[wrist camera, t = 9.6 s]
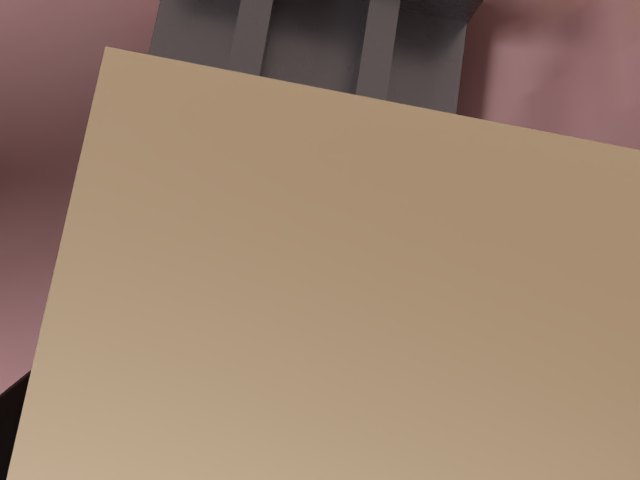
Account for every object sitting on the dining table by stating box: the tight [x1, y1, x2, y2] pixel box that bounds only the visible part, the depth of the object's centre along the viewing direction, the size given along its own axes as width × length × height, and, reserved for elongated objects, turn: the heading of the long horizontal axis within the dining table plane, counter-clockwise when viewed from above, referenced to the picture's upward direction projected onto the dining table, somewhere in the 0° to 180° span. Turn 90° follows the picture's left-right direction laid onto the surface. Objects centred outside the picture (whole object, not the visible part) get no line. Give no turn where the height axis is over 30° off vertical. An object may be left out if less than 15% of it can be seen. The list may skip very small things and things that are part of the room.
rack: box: [149, 0, 483, 114], centre depth 19 cm, size 18×11×5 cm, turn 171°
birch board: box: [6, 46, 640, 480], centre depth 7 cm, size 4×2×11 cm, turn 171°
